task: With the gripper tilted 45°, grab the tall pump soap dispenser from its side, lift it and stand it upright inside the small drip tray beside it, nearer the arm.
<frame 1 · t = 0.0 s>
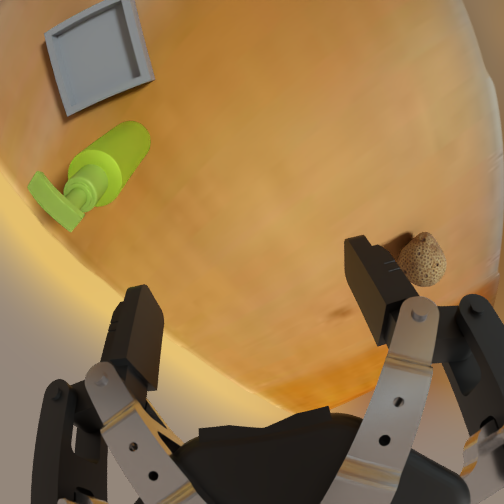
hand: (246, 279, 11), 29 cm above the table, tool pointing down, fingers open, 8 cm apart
drip tray: (100, 52, 27), on the table
soap dispenser: (127, 139, 34), on the table
natural sponge: (407, 244, 50), on the table
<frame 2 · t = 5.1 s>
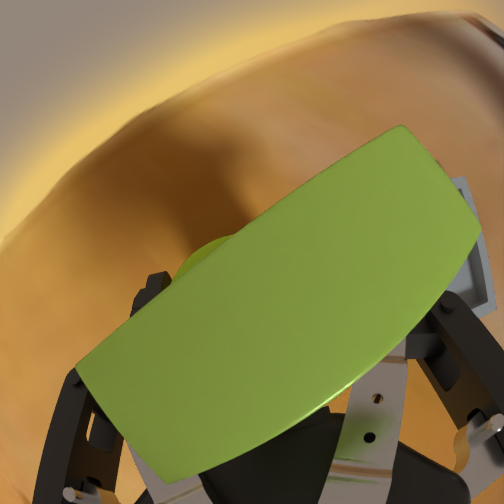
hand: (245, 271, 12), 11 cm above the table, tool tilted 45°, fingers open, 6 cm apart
drip tray: (417, 263, 22), on the table
soap dispenser: (266, 301, 23), on the table, touching gripper
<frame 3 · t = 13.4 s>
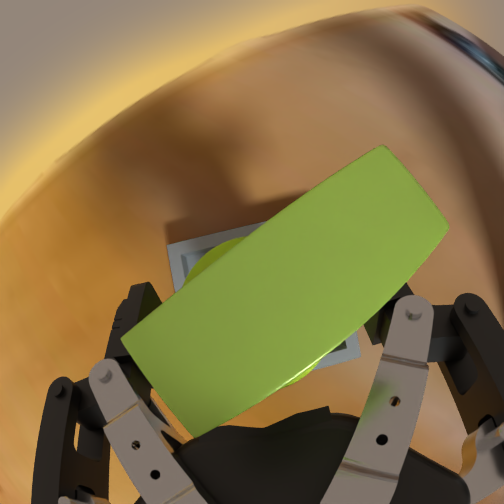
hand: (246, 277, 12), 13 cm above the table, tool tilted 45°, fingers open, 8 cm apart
drip tray: (264, 301, 24), on the table
soap dispenser: (269, 303, 24), point 1 cm above the table, touching drip tray
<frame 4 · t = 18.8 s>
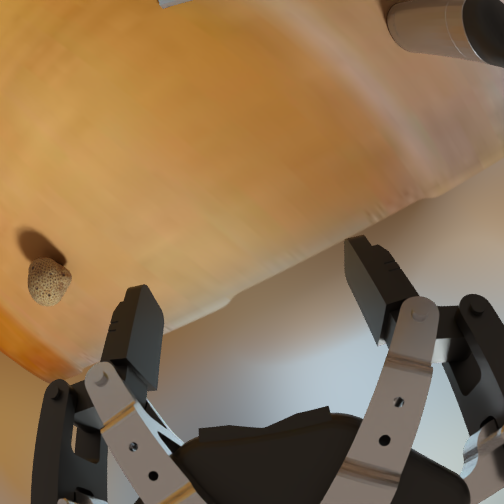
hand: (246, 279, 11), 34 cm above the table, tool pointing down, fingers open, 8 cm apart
natural sponge: (56, 263, 50), on the table
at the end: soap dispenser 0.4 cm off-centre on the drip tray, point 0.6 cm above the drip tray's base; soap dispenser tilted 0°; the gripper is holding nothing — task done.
